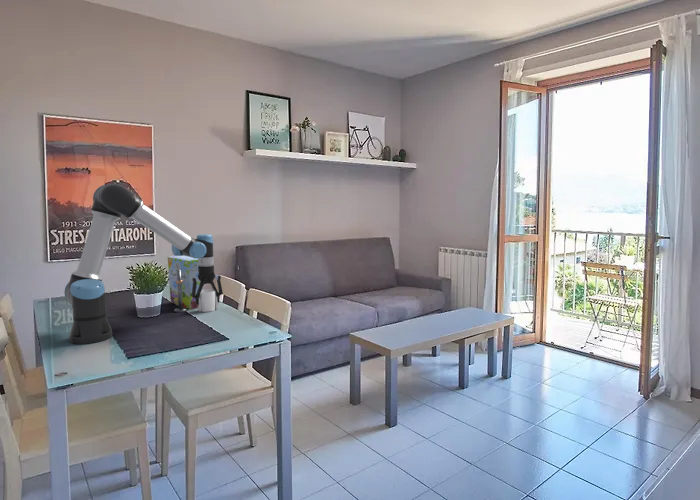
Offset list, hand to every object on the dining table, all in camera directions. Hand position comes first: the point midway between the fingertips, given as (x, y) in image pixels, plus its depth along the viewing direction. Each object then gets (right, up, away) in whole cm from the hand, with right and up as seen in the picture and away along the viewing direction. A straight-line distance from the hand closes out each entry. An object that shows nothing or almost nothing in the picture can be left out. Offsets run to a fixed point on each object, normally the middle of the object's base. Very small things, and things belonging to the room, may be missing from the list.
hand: (208, 309), depth 228 cm
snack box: (-15, +1, +12) cm, 19 cm away
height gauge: (-13, 0, -1) cm, 13 cm away
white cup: (0, 0, 0) cm, 0 cm away
